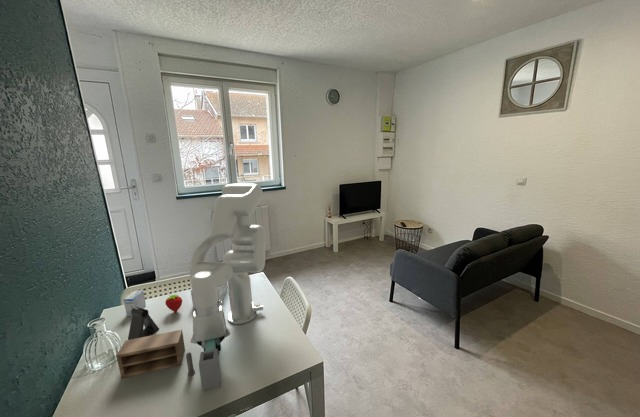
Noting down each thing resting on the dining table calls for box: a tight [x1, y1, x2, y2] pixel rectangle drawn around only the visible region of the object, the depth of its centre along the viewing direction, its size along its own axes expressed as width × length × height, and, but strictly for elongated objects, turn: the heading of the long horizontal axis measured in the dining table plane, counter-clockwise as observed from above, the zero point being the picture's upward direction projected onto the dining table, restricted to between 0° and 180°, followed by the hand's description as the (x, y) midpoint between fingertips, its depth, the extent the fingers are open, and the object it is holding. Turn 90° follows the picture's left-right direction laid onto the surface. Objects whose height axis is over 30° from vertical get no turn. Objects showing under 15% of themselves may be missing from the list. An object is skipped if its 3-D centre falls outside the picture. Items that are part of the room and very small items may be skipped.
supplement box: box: [190, 282, 228, 308], centre depth 133 cm, size 17×13×9 cm
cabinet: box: [116, 329, 196, 379], centre depth 89 cm, size 23×13×9 cm, turn 107°
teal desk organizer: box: [198, 338, 222, 392], centre depth 91 cm, size 23×5×10 cm, turn 17°
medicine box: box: [123, 289, 147, 317], centre depth 122 cm, size 8×4×9 cm, turn 5°
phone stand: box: [127, 307, 160, 340], centre depth 105 cm, size 9×6×12 cm, turn 158°
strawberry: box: [165, 293, 183, 313], centre depth 120 cm, size 6×8×10 cm
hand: (213, 353), depth 91 cm, fingers closed on teal desk organizer, 2 cm apart
